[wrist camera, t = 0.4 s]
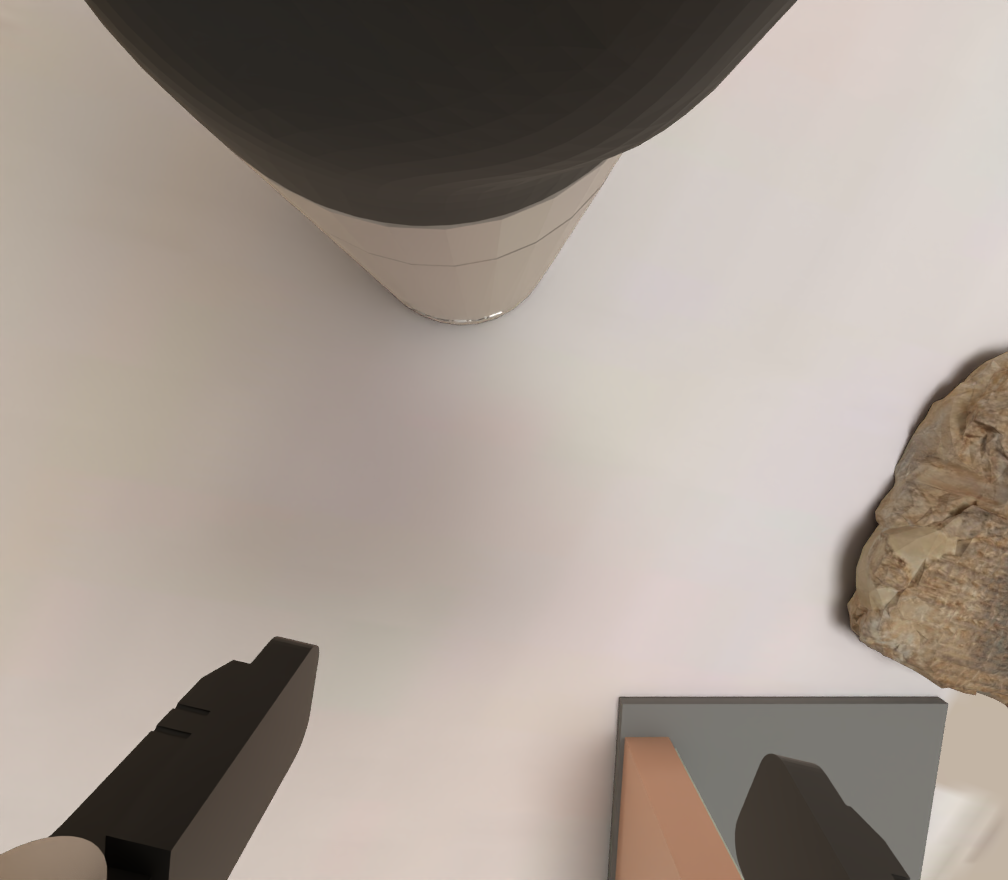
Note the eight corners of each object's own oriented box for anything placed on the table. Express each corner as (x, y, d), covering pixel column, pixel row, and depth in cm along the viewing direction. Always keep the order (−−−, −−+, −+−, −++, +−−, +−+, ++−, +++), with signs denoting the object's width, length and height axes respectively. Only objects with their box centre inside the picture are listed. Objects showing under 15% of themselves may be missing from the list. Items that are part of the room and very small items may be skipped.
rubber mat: (619, 697, 29) (622, 704, 28) (938, 697, 30) (948, 703, 29) (603, 939, 31) (606, 950, 30) (902, 931, 32) (910, 942, 31)
